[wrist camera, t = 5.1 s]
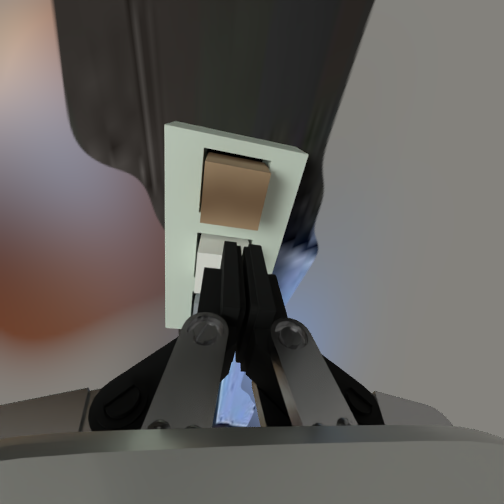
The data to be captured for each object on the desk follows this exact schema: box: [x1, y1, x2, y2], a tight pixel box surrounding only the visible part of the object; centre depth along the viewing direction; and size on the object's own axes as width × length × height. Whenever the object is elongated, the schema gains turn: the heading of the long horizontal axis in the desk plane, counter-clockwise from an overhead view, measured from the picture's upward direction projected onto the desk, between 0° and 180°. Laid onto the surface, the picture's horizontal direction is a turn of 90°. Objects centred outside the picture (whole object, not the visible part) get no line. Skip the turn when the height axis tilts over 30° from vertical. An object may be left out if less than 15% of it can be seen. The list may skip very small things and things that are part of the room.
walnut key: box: [200, 152, 271, 231], centre depth 20 cm, size 5×5×4 cm
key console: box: [165, 121, 308, 329], centre depth 27 cm, size 24×12×4 cm, turn 169°
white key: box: [194, 233, 249, 293], centre depth 24 cm, size 5×5×4 cm
